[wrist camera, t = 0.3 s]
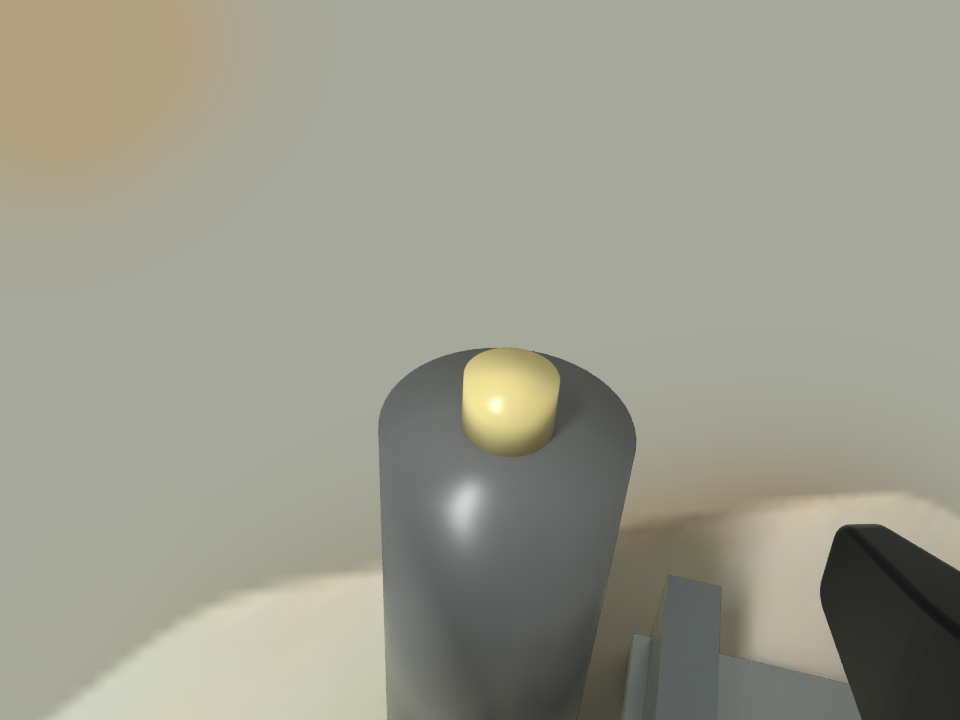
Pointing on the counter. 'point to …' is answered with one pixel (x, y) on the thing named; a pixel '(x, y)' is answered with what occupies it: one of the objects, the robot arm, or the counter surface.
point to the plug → (497, 533)
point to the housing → (716, 671)
